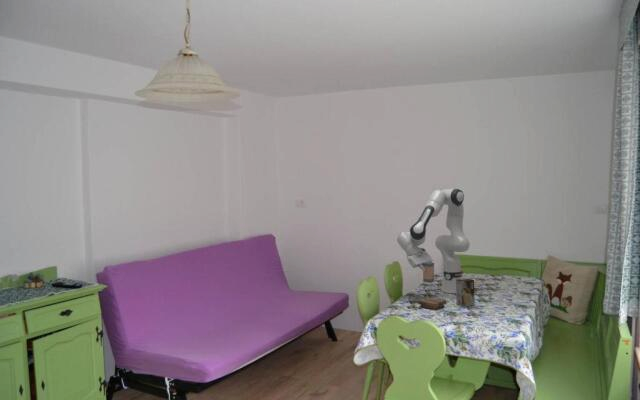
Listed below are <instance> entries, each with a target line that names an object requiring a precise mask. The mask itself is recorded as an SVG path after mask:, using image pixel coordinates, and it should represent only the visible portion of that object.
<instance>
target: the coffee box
mask: <svg viewBox="0 0 640 400" xmlns="http://www.w3.org/2000/svg"><path fill="white" fill-rule="evenodd" d="M455 294H456V295H455V296H456V305H457V306H459V307H461V308H465V307H474V306H476V305H475V303H476V302H475V301H476V300H475V299H476V298H475V280H474V279H472V278H468V277H467V278H464V279H456V293H455Z"/></svg>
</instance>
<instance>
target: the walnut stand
mask: <svg viewBox="0 0 640 400" xmlns="http://www.w3.org/2000/svg"><path fill="white" fill-rule="evenodd" d="M446 304H447V300H446V299H439V298H434V297H426V298H423V299H420V300H418V305H420V308H422V309H423V308H424V309H428V310H434V311H436V310H439V309H442V308H444V306H445V305H446Z"/></svg>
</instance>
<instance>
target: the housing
mask: <svg viewBox="0 0 640 400" xmlns="http://www.w3.org/2000/svg"><path fill="white" fill-rule="evenodd" d="M423 267H424V268H426V271H423V270H422V276H423V277H422V282H424V283H430V284H431V283H433V282H435V262H433V261H432V262H425V263H423Z"/></svg>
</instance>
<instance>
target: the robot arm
mask: <svg viewBox="0 0 640 400" xmlns="http://www.w3.org/2000/svg"><path fill="white" fill-rule="evenodd" d="M464 197H465V195H464V191H462V190H461V189H459V188H444V189H436V190H434V191H433V192H432V193H430V195H429V197H428V198H427V199H426V202H425V204H424V208H423V209H422V210H423V212H422V213H421V215H420V217H419V218H418V220H417V221H416V222H415V223H413V224H412V226H410V229H409V231H402V232H400V233H399V234H398V236H397V238H396V241H397V243H398V245H399V246H400V248H401V249H402V250H403V251H404V252H405V254H406V259H407V261H408V264H409V265H410V266H411V267H412V268H419V269H420V270H422V272H423V271H426V268H424V267H423V263H425V262H432V263H433V258H432V257H431V255H430V253H428V252H427V250H426V249H425V248H423V247H419V246H420V245H423V244H424V243H425V242H426V233H427V226H428V224H429V222H430V220H431V219H432V218H434V217H435V218H436V217H437V216H438V215H439V214H440V212H441V210H442V209H443V207H444V205H445V206H447V207H448V208H447V214H446V220H445V226H446V229H448V230H449V231H450V234H451V235H448V234H442V235H438V236H437V237H436V239H435V247H436V249H438V251H439V252H440V253H441V255H442V259H443V278H441V279H442V280H441V287H440V288H439V289H440V290H441V292H442V293H447V294H456V279H465V277H463V275H464V271H463V270H461V259H460V258H459V257H458V256H457V255H456V253H465V252H467V251H468V250H469V249H470V246H471V245H470V244H471V243H470V241H469V239H468V238H467V237H466V235H465V233H464V229H463V226H464V225H463V224H464V199H465V198H464Z"/></svg>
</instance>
